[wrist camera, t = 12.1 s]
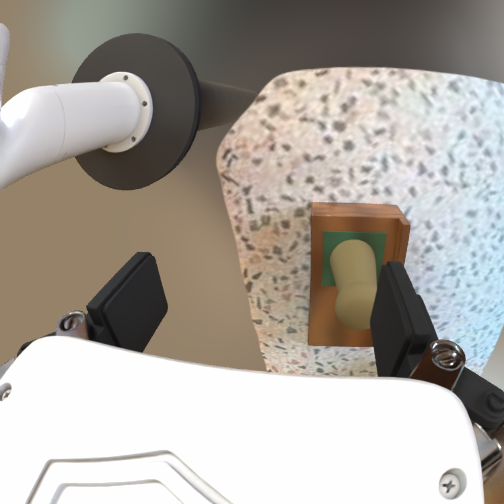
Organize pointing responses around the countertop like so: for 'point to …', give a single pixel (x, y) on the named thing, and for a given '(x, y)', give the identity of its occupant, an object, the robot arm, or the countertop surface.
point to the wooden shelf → (322, 280)
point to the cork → (354, 283)
